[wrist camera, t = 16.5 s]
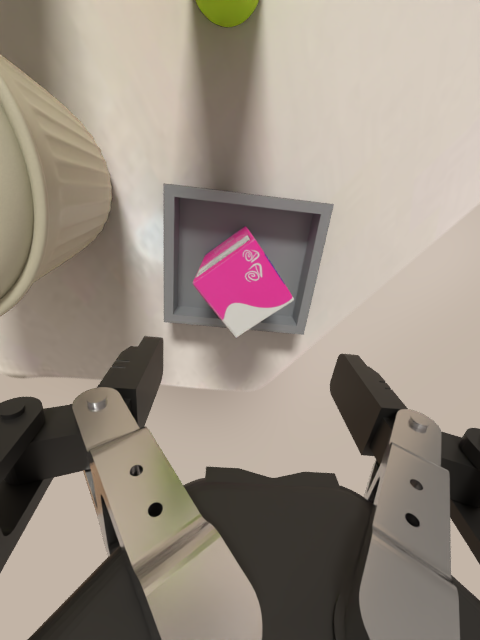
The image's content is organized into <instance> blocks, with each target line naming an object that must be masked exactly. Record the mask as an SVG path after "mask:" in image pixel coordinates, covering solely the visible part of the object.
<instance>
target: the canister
mask: <svg viewBox="0 0 480 640" xmlns="http://www.w3.org/2000/svg"><path fill="white" fill-rule="evenodd" d="M111 189H112V186H111V183H110V174H109V172H108V169H107V165H106V161H105V160H104V158H103V156H102V154H101V150H100V148H99V147H98V146H97V144H96V143H95V141H94V138H93V136H92V135H91V134H90V133H89V132H88V131H87V130H86V129H85V127H84V125H83V124H82V123H81V121H79V120H78V119H77V118H76V117H75V116H74V115H73V114H72V113H71V112H70V111H69V110H68V109H67V108H66V107H65V106H64V105H63V104H62V103H60V102H59V101H58V100H57V99H56V98H54V97H53V96H52V95H51V94H50V93H49V92H47V91H46V90H45V89H44V88H43V87H41V86H40V85H39V84H38V83H36V82H35V81H34V80H33V79H31V78H30V77H29V76H28V75H26V74H25V73H24V72H23V71H21V70H20V69H19V68H17V67H16V66H15V65H14V64H12V63H11V62H10V61H8V60H7V59H6V58H5V57H3V56H2V55H1V54H0V316H2V315H3V314H5V313H6V312H7V311H9V310H10V309H11V308H13V307H14V306H15V305H16V304H17V303H18V302H19V301H20V300H21V299H22V298H23V297H24V295H25V294H26V293H27V292H28V290H29V289H30V287H31V286H32V284H33V283H34V282H35V281H37V280H38V279H40V278H41V277H43V276H44V275H46V274H47V273H49V272H50V271H52V270H53V269H55V268H57V267H58V266H60V265H61V264H63V263H64V262H66V261H67V260H69V259H70V258H72V257H73V256H74V255H76V254H77V253H78V252H80V251H81V250H83V249H84V248H85V247H86V246H88V245H89V243H91V242H92V241H93V240H94V239H96V237H97V235H98V233H100V232H101V231H102V230H103V227H104V224H105V222H106V221H107V220H108V214H109V212H110V210H111V200H112V195H111Z"/></svg>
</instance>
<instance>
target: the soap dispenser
mask: <svg viewBox="0 0 480 640" xmlns="http://www.w3.org/2000/svg"><path fill="white" fill-rule="evenodd" d="M195 1H196V3H197V5H198V7H199V8H200V10H201V12H202V13H203V14H204V15H205V16H206V17H207V18H208V19H209V20H210V21H211V22H213V23H215V24H217V25H219V26H223V27H233V26H236V25H239V24H241V23H242V22H244V21H245V20H246V19H248V18H249V16H250V15H251V14H252V13H253V11H254V10H255V8H256V6H257V4H258V2H259V0H195Z"/></svg>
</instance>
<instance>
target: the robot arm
mask: <svg viewBox="0 0 480 640" xmlns="http://www.w3.org/2000/svg"><path fill="white" fill-rule="evenodd" d="M162 375H163V338H159V337H148V336H145V337H144V338H143V340H142V341H141V343H140V345H139V346H138V347H133V346H131V347H129V348H127V349H126V350H124V351H123V352H121V354H120V355H119V357H118V358H117V359H116V361H115V362H114V364H113V365H112V367H111V368H110V369H109V371H108V372H107V374H106V375H105V377H104V378H103V380H102V381H101V383H100V384H99V385H98V387H97V388H94V389H90V390H88V391H85V392H83V393H82V394H80V395H79V396H78V397H77V398H76V399H75V400H74V402H73V404H70V405H66V406H59V407H53V408H46V409H43V406H42V403H41V401H40V400H39V399H36V398H34V397H18V398H13V399H10V400H7V401H4V402H2V403H0V573H1V571H2V569H3V567H4V565H5V564H6V562H7V560H8V558H9V556H10V555H11V553H12V551H13V549H14V547H15V546H16V544H17V542H18V540H19V538H20V537H21V535H22V533H23V531H24V530H25V528H26V526H27V524H28V522H29V521H30V519H31V517H32V515H33V513H34V511H35V510H36V508H37V506H38V504H39V502H40V501H41V499H42V497H43V495H44V494H45V492H46V490H47V488H48V486H49V485H50V483H51V481H52V479H53V478H54V477H57V476H62V475H66V474H70V473H75V472H79V471H84V475H85V478H86V481H87V484H88V488H89V491H90V494H91V497H92V500H93V504H94V507H95V510H96V513H97V516H98V520H99V524H100V528H101V532H102V537H103V541H104V544H105V548H106V551H107V554H108V558H107V559H106V560H105V561H104V562H103V563H102V564H101V565H100V566H99V567H98V568H97V569H96V570H95V571H94V572H93V573H92V574H91V575H90V577H88V578H87V580H85V582H83V583H82V585H81V586H80V587H79V588H78V589H77V590H76V591H75V592H74V593H73V594H72V595H71V596H70V597H69V598H68V599H67V600H66V601H65V602H64V603H63V604H62V605H61V606H60V607H59V608H58V609H57V610H56V611H55V612H54V613H53V614H52V615H51V616H50V617H49V618H48V619H47V620H46V622H44V623H43V625H42V626H41V627H40V628H39V629H38V630H37V631H36V632H35V633H34V634H33V635H32V636H31V637H30V638H29V639H28V640H480V601H479V600H478V599H477V598H476V597H475V596H474V595H473V594H472V593H471V592H469V591H468V590H467V589H466V588H465V587H464V586H463V585H461V583H460V582H458V581H457V580H456V579H455V578H454V577H453V576H452V575H451V558H450V557H451V554H450V553H451V551H450V518H451V519H452V521H453V522H454V524H455V526H456V527H457V529H458V530H459V532H460V534H461V535H462V537H463V538H464V540H465V541H466V543H467V545H468V546H469V548H470V549H471V551H472V553H473V554H474V556H475V557H476V559H477V561H478V562H479V564H480V429H477V428H470V429H468V430H467V431H466V432H465V434H464V436H463V437H462V438H461V437H458V436H454V435H451V434H447V433H444V432H441V430H440V428H439V426H438V425H437V424H436V423H435V422H434V421H433V420H432V419H430V418H429V417H427V416H426V415H424V414H422V413H420V412H417V411H414V410H410V409H408V408H406V406H405V405H404V404H403V403H402V401H401V400H400V399H399V398H398V396H397V395H396V394H395V393H394V392H393V390H391V388H390V387H389V386H388V384H387V383H385V381H384V379H383V378H382V377H381V376H380V375H379V374H378V373H377V372H376V371H374V370H373V369H371V368H370V367H367V365H366V364H365V363H364V362H363V360H362V359H361V358H360V357H359V356H358V355H351V354H340V355H339V357H338V359H337V362H336V366H335V369H334V372H333V375H332V379H331V382H330V392H331V395H332V397H333V399H334V401H335V403H336V405H337V407H338V409H339V411H340V413H341V415H342V417H343V419H344V421H345V423H346V425H347V427H348V429H349V431H350V433H351V435H352V437H353V439H354V441H355V443H356V445H357V447H358V449H359V451H360V453H361V455H368V456H375V458H376V461H375V463H374V465H373V468H372V471H371V475H370V478H369V481H368V484H367V488H366V491H365V494H364V497H362V496H361V495H359V494H357V493H356V492H354V491H352V490H350V489H347V488H345V487H343V486H339V484H338V481H337V479H336V476H335V474H334V473H333V474H332V473H314V472H301V473H297V474H292V475H287V476H282V477H278V478H269V477H266V476H263V475H259V474H255V473H252V472H249V471H246V470H242V469H239V468H220V467H206V476H205V478H202V479H198V480H195V481H192V482H190V483H187V484H185V485H182V483H181V481H180V480H179V478H178V476H177V475H176V473H175V471H174V470H173V468H172V467H171V465H170V463H169V462H168V460H167V458H166V457H165V455H164V454H163V452H162V450H161V449H160V447H159V445H158V444H157V442H156V440H155V439H154V437H153V435H152V434H151V432H150V431H149V429H148V428H147V427H144V425H145V423H146V420H147V418H148V415H149V412H150V410H151V407H152V404H153V402H154V399H155V396H156V394H157V391H158V388H159V386H160V383H161V380H162Z"/></svg>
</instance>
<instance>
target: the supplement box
mask: <svg viewBox="0 0 480 640" xmlns="http://www.w3.org/2000/svg"><path fill="white" fill-rule="evenodd" d="M193 285H194V286H195V288H196V289H197V290H198V292H199V293H200V294H201V296H202V297H203V298H204V299H205V301H206V302H207V303H208V305H209V306H210V307H211V308H212V309H213V311H214V312H215V313H216V314H217V316H218V317H219V318H220V319H221V320H222V322H223V323H224V324H225V325H226V327H227V328H228V329H229V330H230V332H231V333H232V334H233V335H234V336H235V337H236V338H237V337H239V336H240V335H242V334H243V333H245V332H246V331H248V330H249V329H251V328H252V327H254V326H255V325H257V324H258V323H260V322H261V321H263V320H264V319H266V318H267V317H269V316H270V315H272V314H273V313H275V312H276V311H278V310H280V309H281V308H283V307H284V306H286V305H288V304H289V303H291V302H292V301H293V300H294V298H293V296H292V295H291V293H290V291H289V290H288V288H287V287H286V285H285V283H284V282H283V280H282V278H281V277H280V275H279V274H278V272H277V271H276V269H275V268H274V266H273V265H272V263H271V262H270V260H269V259H268V257H267V256H266V254H265V253H264V251H263V250H262V248H261V247H260V245H259V244H258V242H257V241H256V240H255V238H254V237H253V235H252V234H251V232H250V231H249V230H248V228H247V227H246V226H244V227H243V228H241V229H240V230H239V231H237V232H236V233H235V234H233V235H232V236H230V237H229V238H228V239H226V240H225V241H223V242H222V243H221V244H219V245H218V246H217V247H215V248H214V249H212V250H211V251H210V252H208V253H207V254H206V255H205V256H204V259H203V261H202V263H201V265H200V268H199V270H198V272H197V274H196V276H195V278H194V280H193Z"/></svg>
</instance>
